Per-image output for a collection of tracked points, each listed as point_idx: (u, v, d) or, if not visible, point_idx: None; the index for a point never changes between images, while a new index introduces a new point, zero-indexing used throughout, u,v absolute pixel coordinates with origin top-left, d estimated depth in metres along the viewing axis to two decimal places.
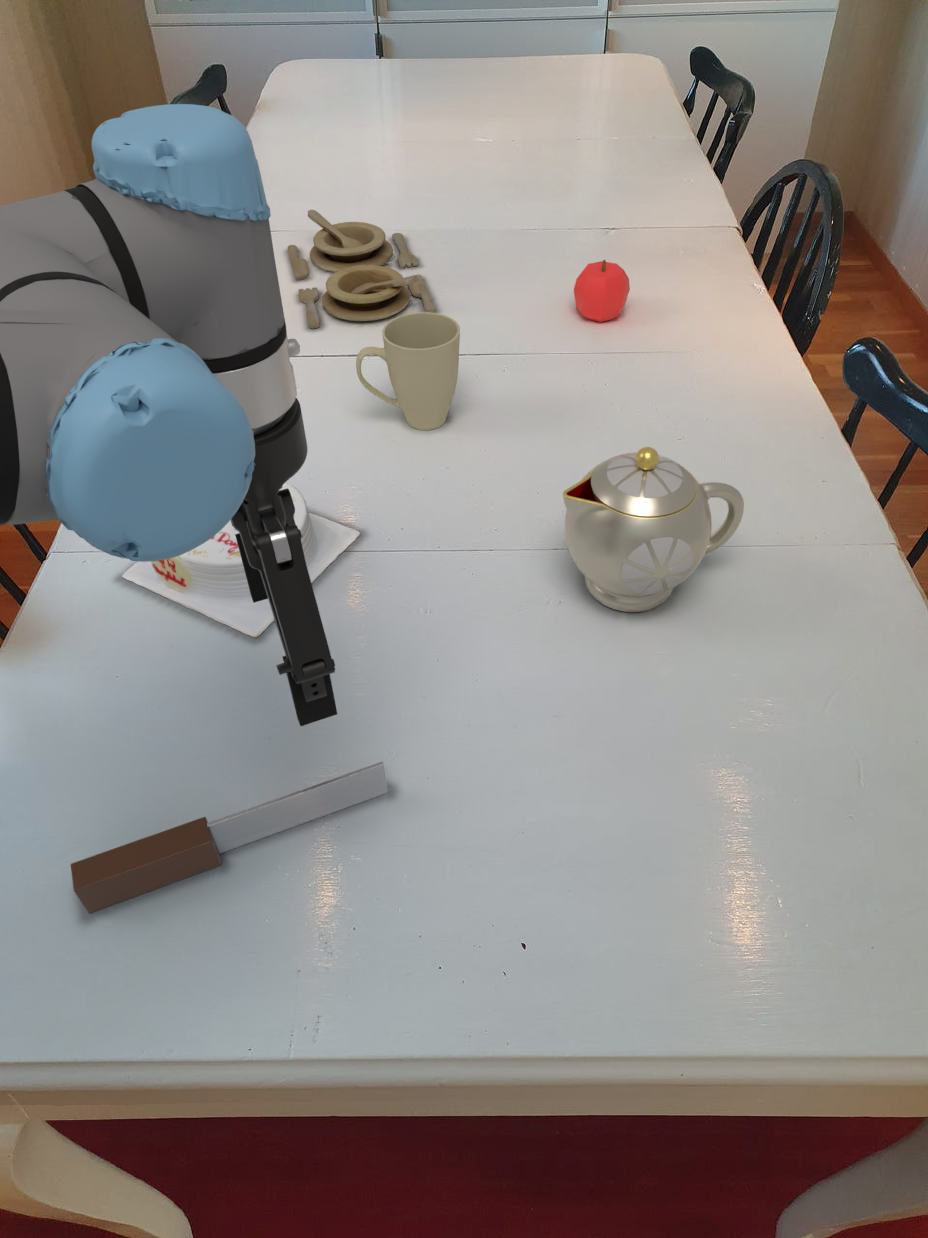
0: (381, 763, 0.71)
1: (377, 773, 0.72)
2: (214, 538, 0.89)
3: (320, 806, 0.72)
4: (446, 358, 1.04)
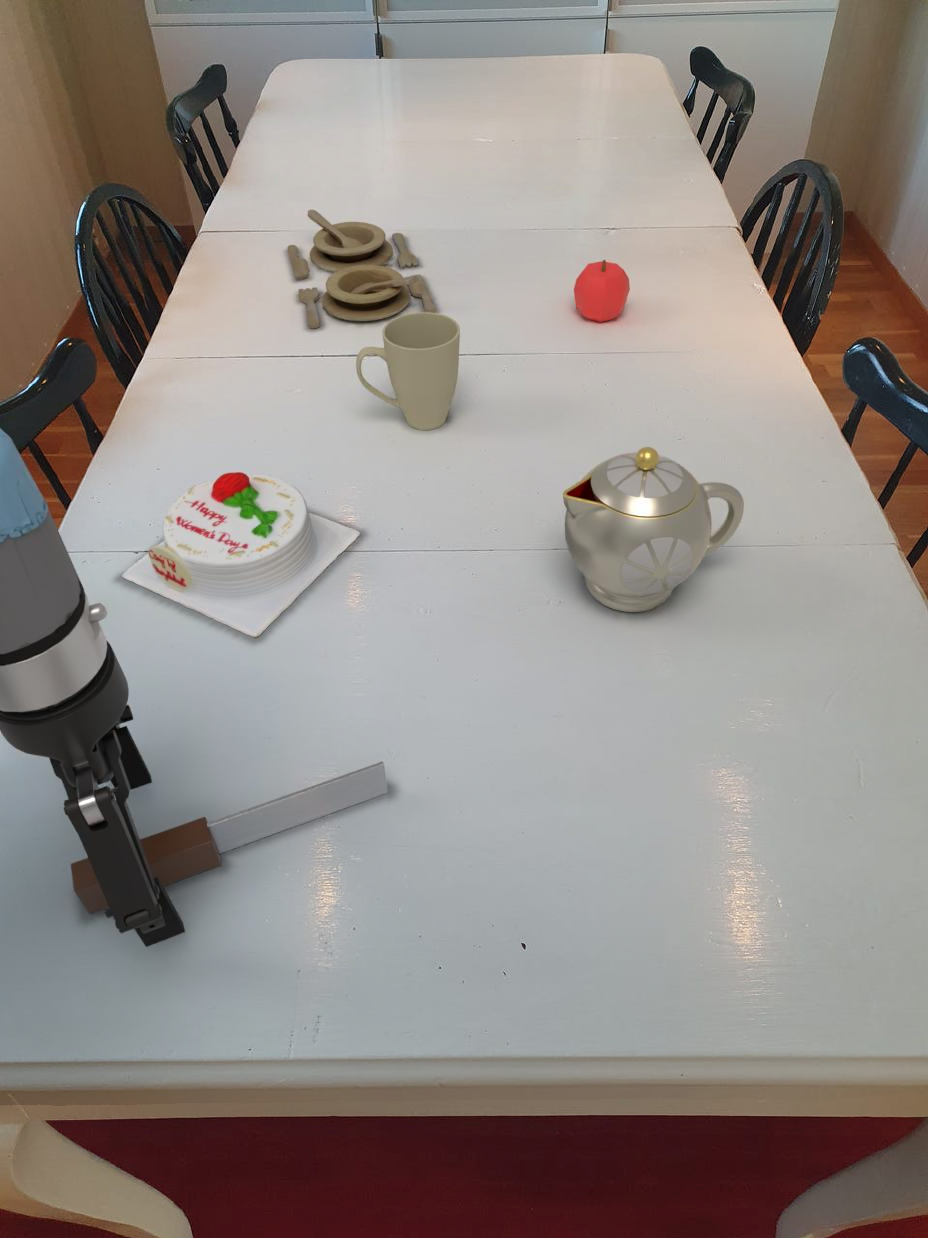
0: (381, 763, 0.71)
1: (377, 773, 0.72)
2: (214, 538, 0.89)
3: (320, 806, 0.72)
4: (446, 358, 1.04)
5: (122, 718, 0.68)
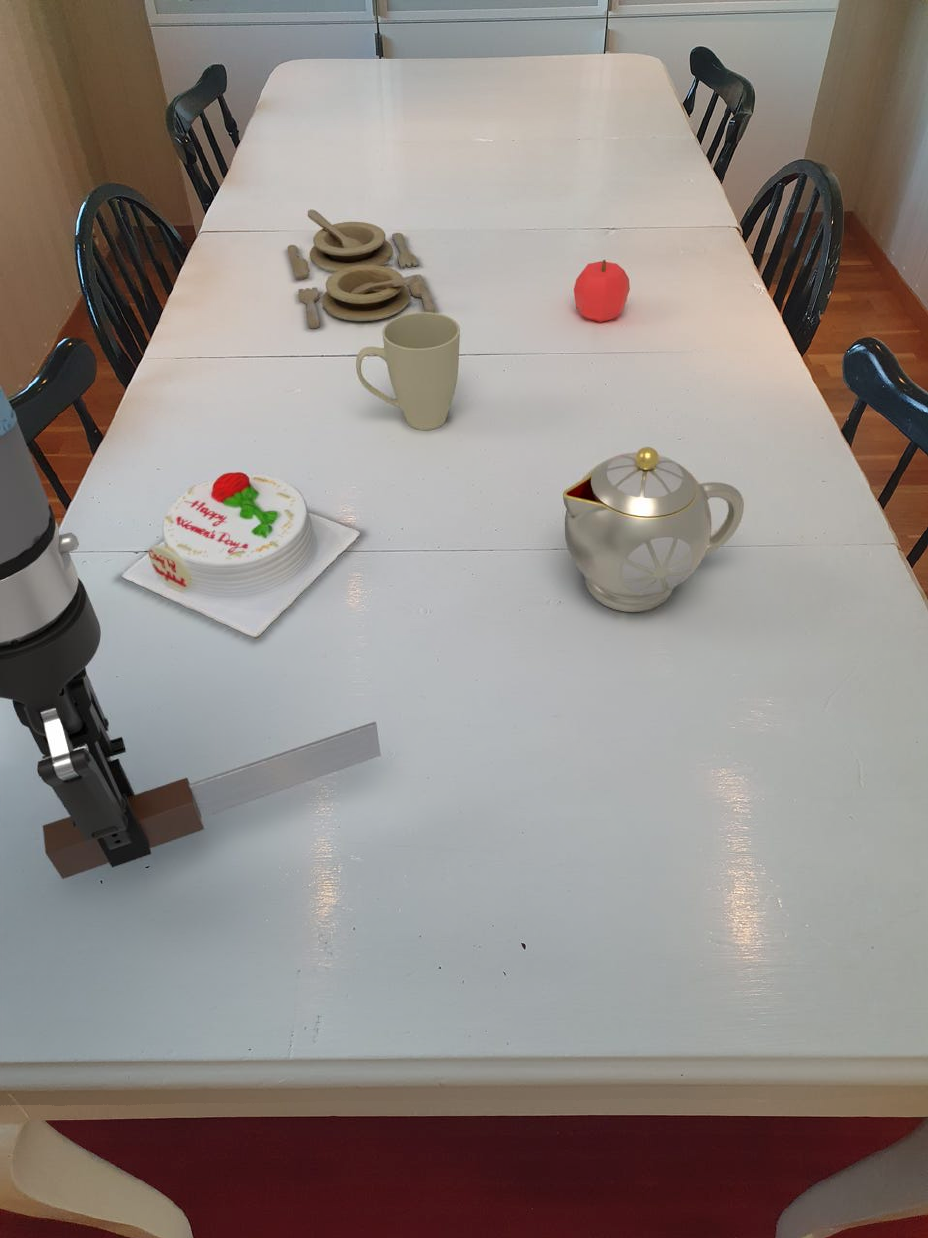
0: (374, 723, 0.68)
1: (369, 734, 0.68)
2: (214, 538, 0.89)
3: (309, 769, 0.68)
4: (446, 358, 1.04)
5: (113, 749, 0.62)
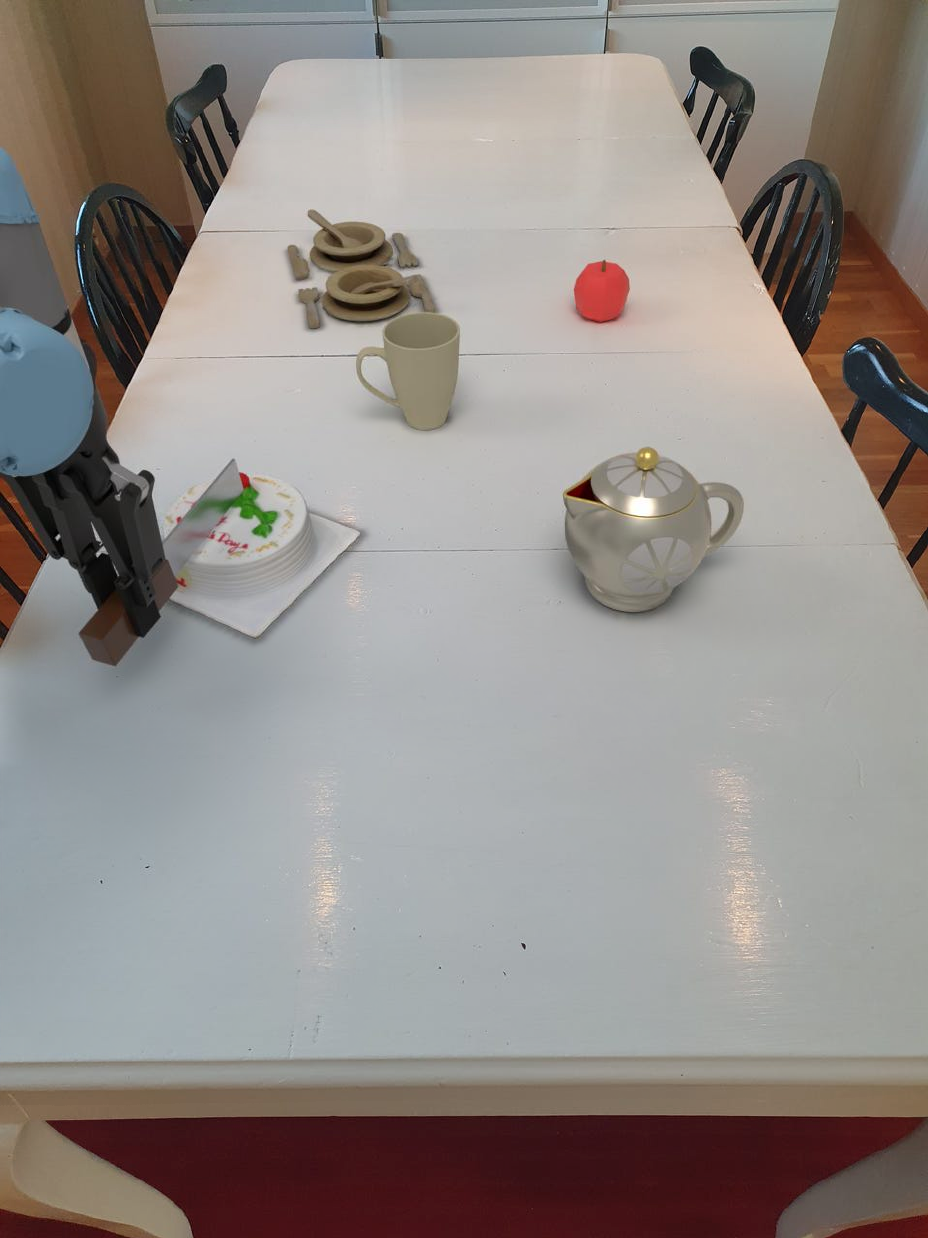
0: (233, 459, 0.89)
1: (234, 470, 0.89)
2: (214, 538, 0.89)
3: (212, 514, 0.88)
4: (446, 358, 1.04)
5: None
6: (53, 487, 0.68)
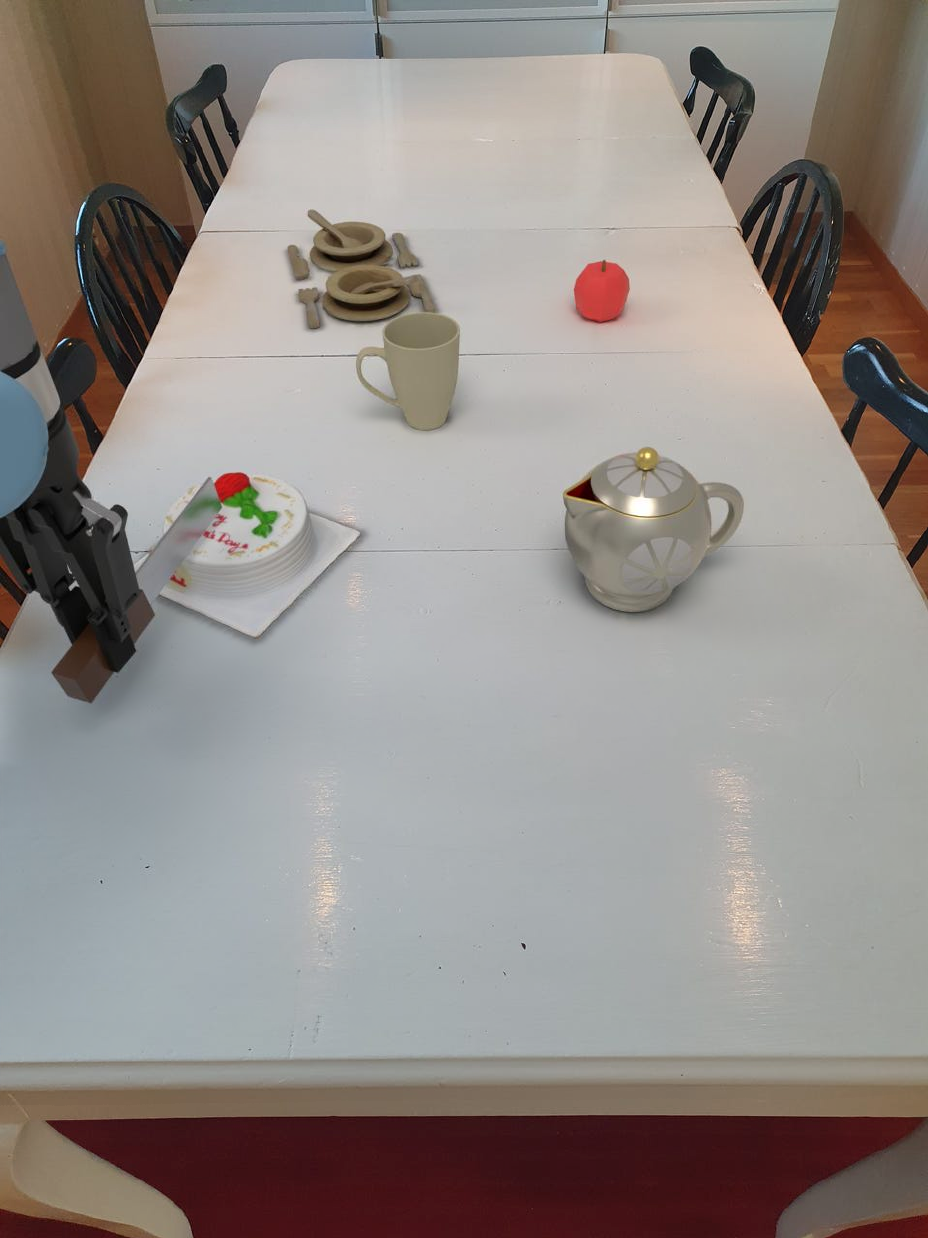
0: (209, 477, 0.86)
1: (210, 488, 0.87)
2: (214, 538, 0.89)
3: (189, 536, 0.85)
4: (446, 358, 1.04)
5: None
6: (23, 521, 0.66)
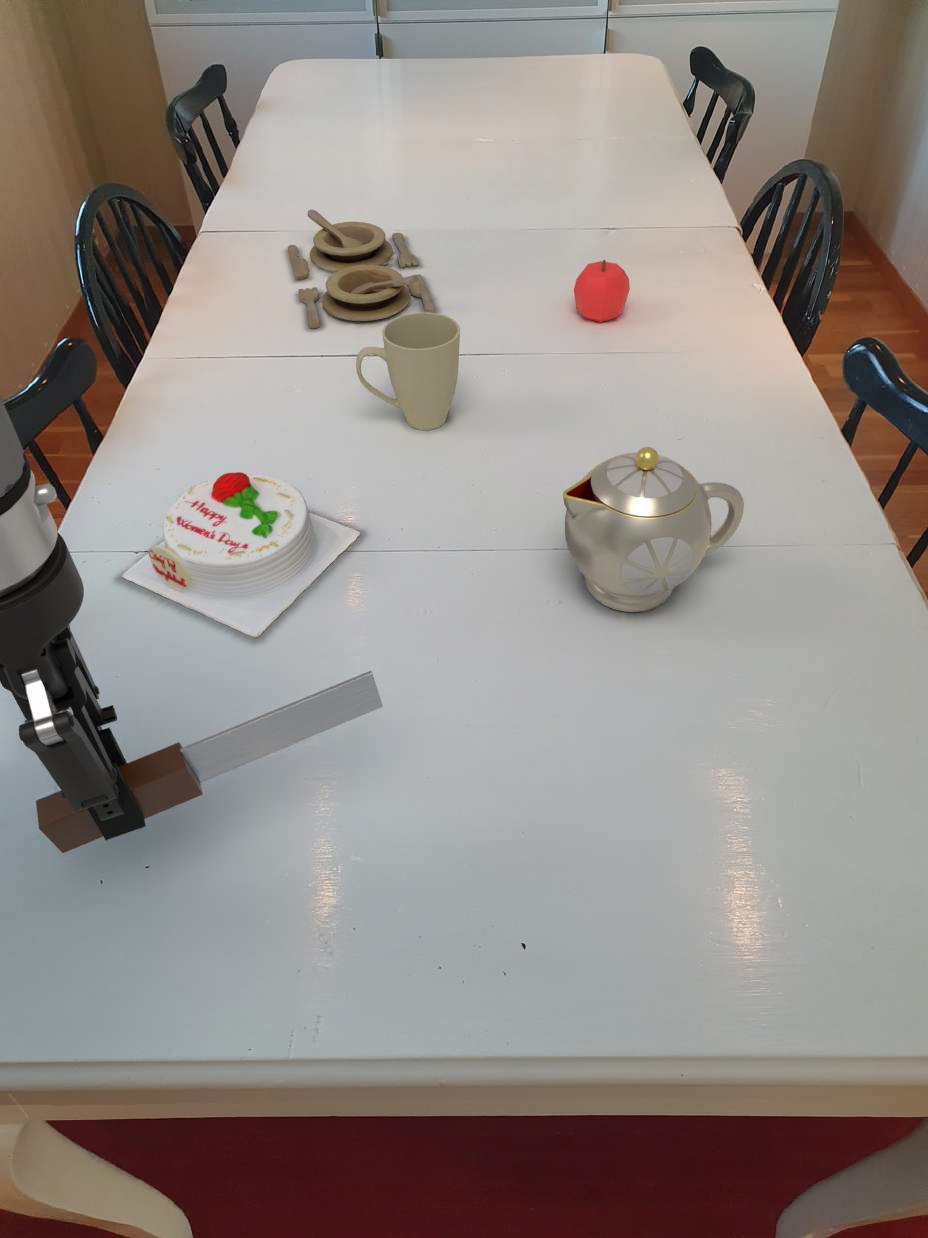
0: (369, 672, 0.64)
1: (366, 684, 0.64)
2: (214, 538, 0.89)
3: (307, 725, 0.65)
4: (446, 358, 1.04)
5: (104, 717, 0.60)
6: None
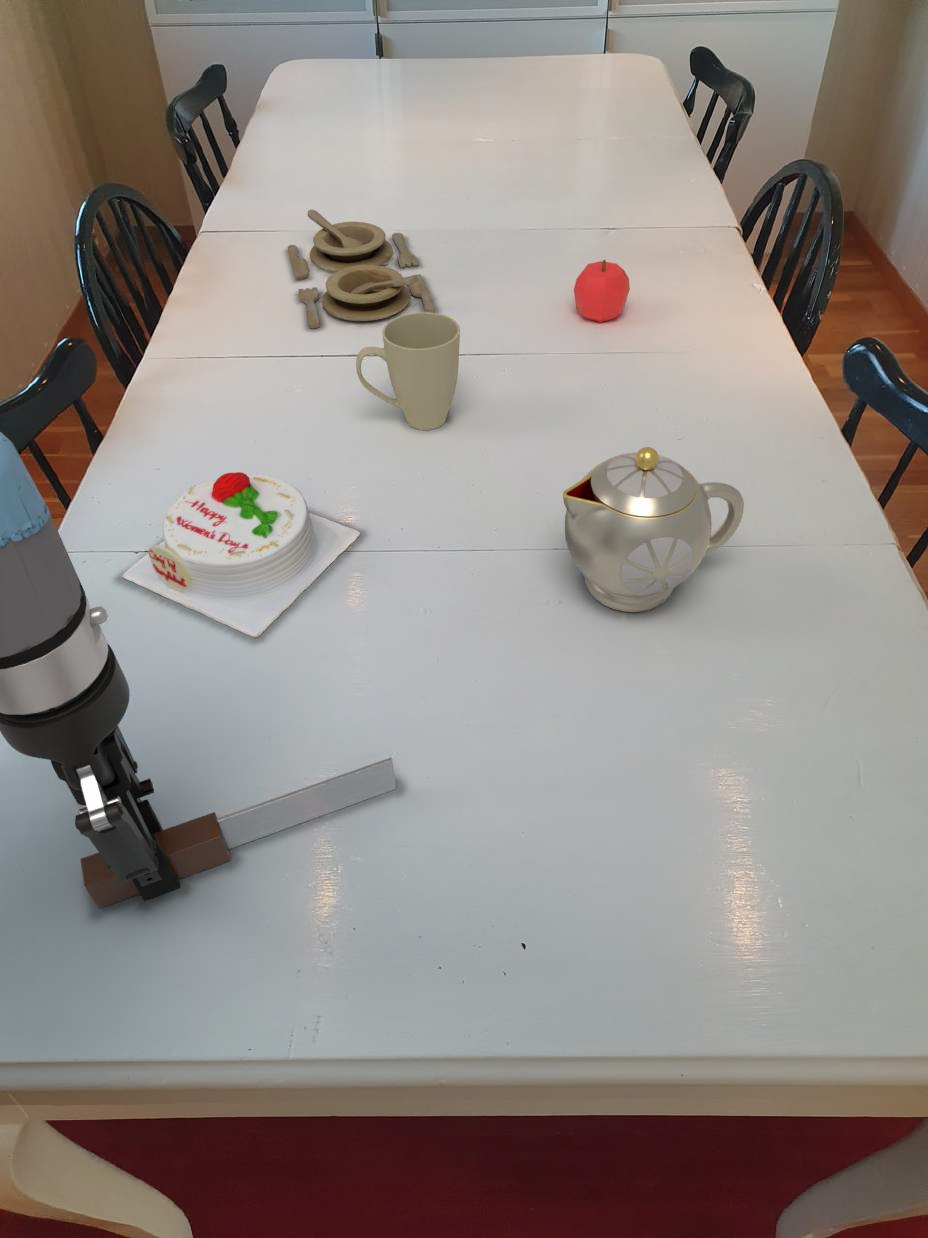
0: (390, 759, 0.72)
1: (386, 769, 0.72)
2: (214, 538, 0.89)
3: (329, 802, 0.72)
4: (446, 358, 1.04)
5: (142, 790, 0.66)
6: None
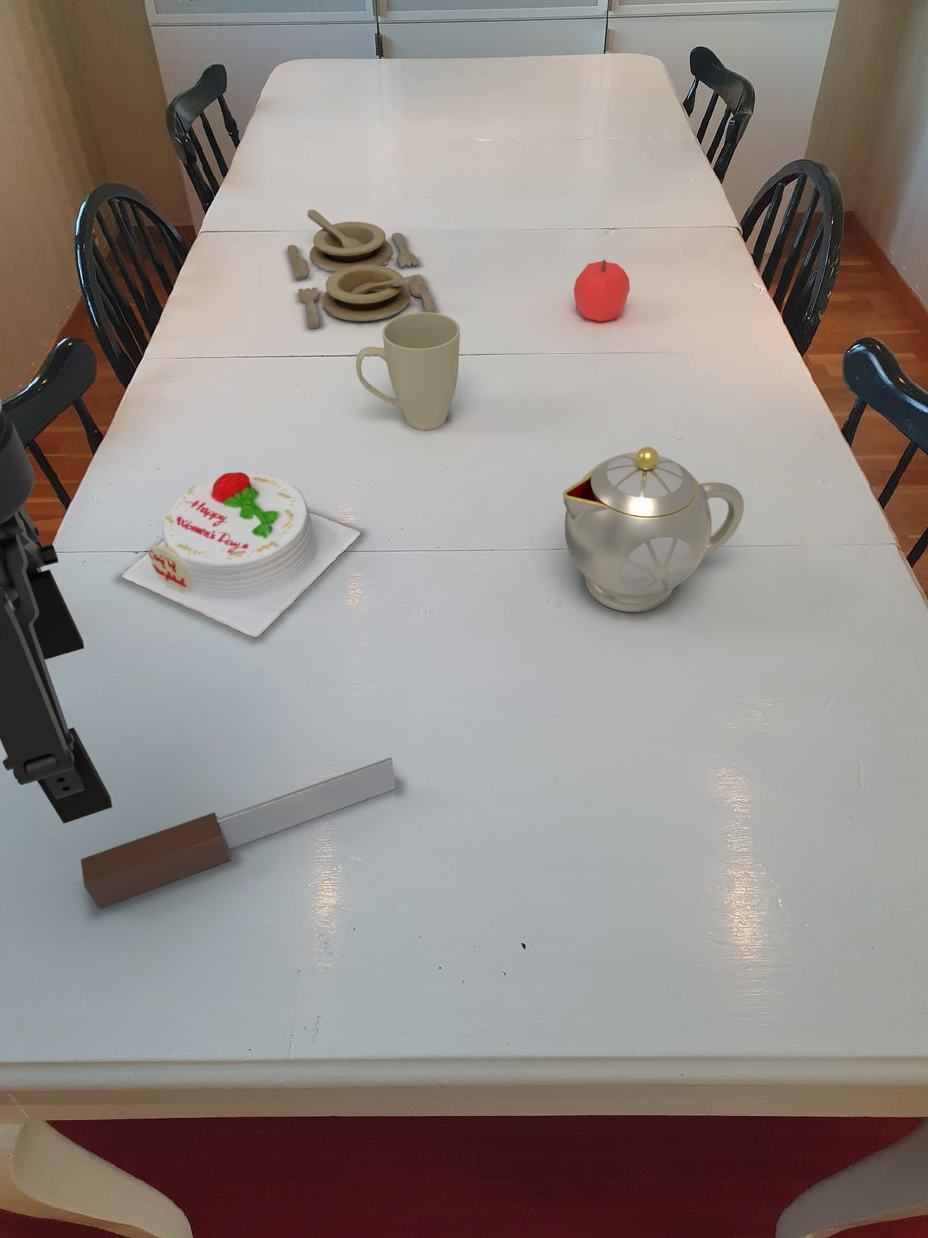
0: (389, 759, 0.72)
1: (385, 769, 0.72)
2: (214, 538, 0.89)
3: (329, 802, 0.72)
4: (446, 358, 1.04)
5: (44, 559, 0.56)
6: None
